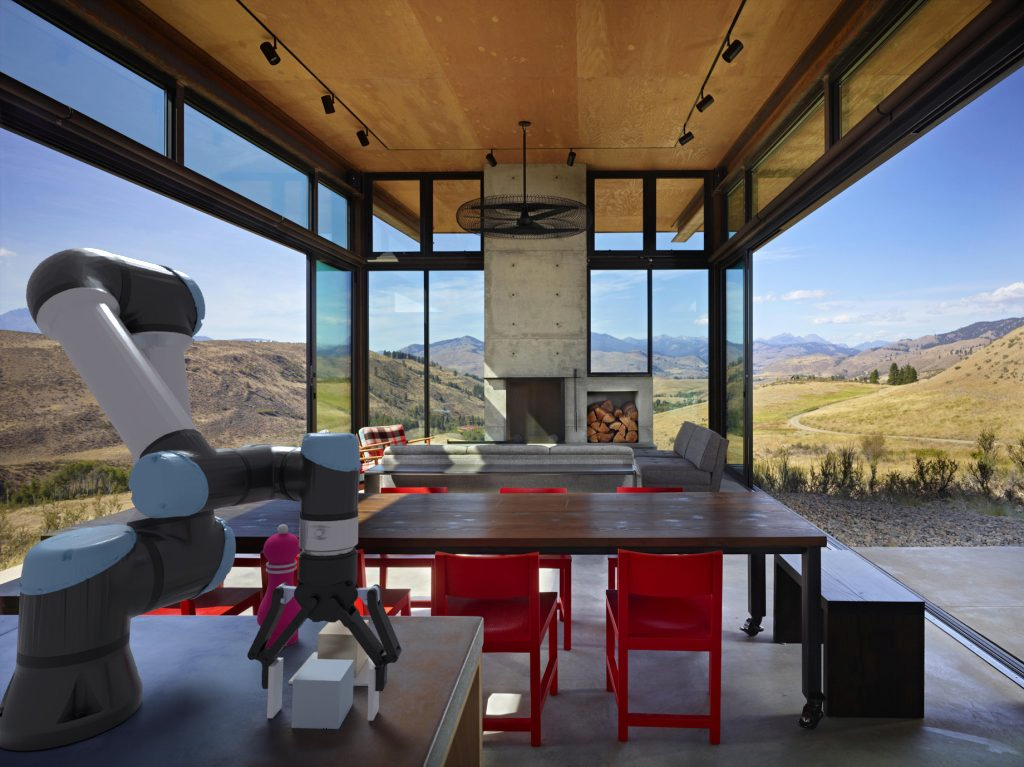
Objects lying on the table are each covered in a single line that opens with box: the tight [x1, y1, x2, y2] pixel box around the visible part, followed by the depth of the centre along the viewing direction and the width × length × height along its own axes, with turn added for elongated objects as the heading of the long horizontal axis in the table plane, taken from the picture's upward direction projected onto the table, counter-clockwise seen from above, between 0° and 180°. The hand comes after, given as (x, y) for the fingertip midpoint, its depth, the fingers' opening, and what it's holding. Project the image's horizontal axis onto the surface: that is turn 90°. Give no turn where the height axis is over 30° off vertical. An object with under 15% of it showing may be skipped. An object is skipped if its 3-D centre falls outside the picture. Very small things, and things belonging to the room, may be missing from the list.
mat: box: [288, 651, 373, 687], centre depth 87 cm, size 12×10×1 cm
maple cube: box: [317, 619, 370, 676], centre depth 87 cm, size 6×6×6 cm
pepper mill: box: [256, 523, 301, 648], centre depth 98 cm, size 7×7×20 cm
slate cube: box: [290, 659, 354, 730], centre depth 74 cm, size 6×6×6 cm
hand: (323, 714), depth 74 cm, fingers open, 12 cm apart
